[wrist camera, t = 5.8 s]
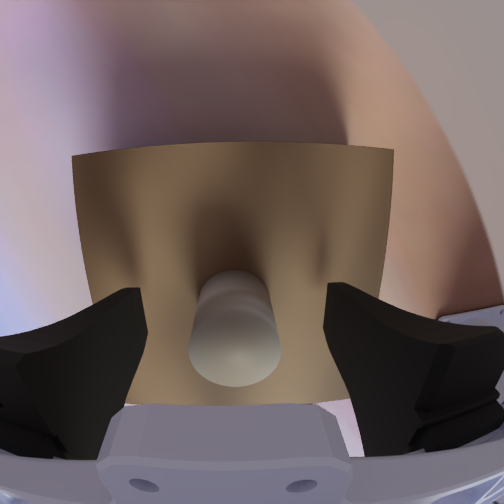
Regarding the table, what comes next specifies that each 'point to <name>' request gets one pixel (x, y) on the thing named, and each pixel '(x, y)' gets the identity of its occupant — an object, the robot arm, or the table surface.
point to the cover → (234, 260)
